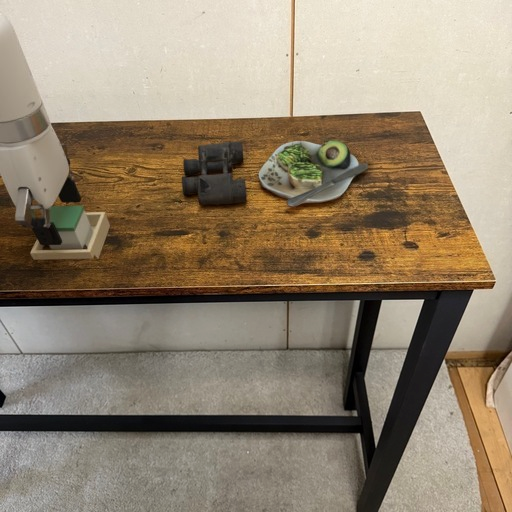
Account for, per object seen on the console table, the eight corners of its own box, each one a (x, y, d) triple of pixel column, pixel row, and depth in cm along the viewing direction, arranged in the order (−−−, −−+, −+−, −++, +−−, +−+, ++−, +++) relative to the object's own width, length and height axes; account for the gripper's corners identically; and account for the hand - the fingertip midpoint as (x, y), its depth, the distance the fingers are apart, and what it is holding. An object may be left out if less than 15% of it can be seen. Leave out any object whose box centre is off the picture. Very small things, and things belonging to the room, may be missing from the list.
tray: (37, 267, 70) (29, 253, 68) (56, 226, 77) (50, 213, 75) (96, 266, 70) (89, 252, 68) (110, 225, 76) (105, 211, 74)
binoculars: (183, 212, 78) (177, 182, 74) (187, 159, 89) (182, 131, 85) (247, 207, 78) (245, 177, 74) (243, 155, 89) (240, 126, 85)
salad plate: (333, 228, 74) (336, 205, 70) (239, 197, 80) (237, 176, 77) (373, 165, 85) (376, 143, 82) (287, 143, 92) (287, 122, 88)
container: (53, 254, 71) (39, 228, 67) (63, 232, 75) (50, 206, 71) (85, 253, 71) (73, 227, 67) (93, 231, 75) (82, 205, 71)
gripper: (13, 89, 63) (56, 187, 76) (-45, 160, 52) (16, 262, 64) (66, 88, 63) (100, 186, 76) (20, 159, 51) (69, 262, 64)
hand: (62, 221), depth 70 cm, fingers open, 9 cm apart
